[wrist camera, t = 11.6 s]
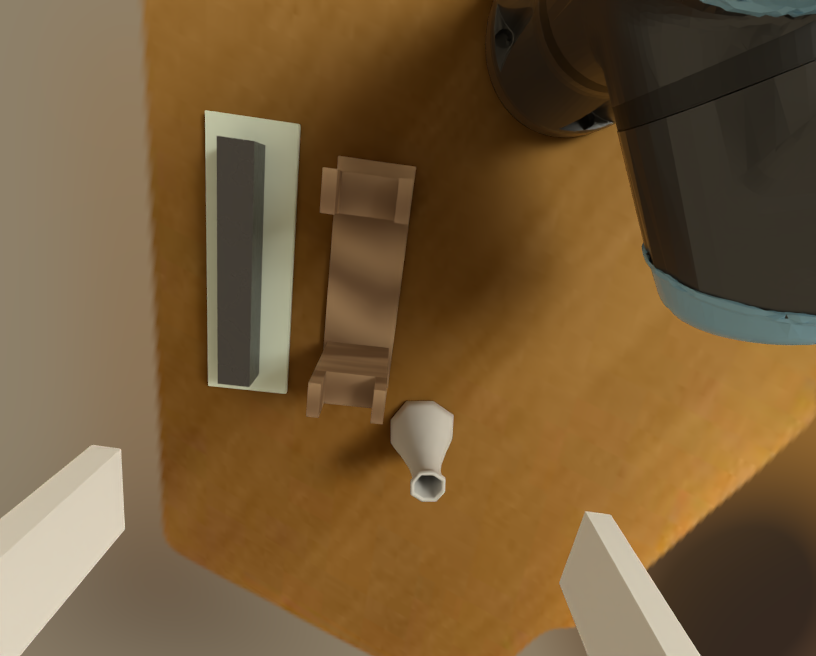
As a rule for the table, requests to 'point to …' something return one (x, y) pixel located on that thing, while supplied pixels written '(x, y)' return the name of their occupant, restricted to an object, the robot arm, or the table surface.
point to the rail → (239, 258)
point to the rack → (362, 282)
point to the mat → (276, 241)
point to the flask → (423, 445)
